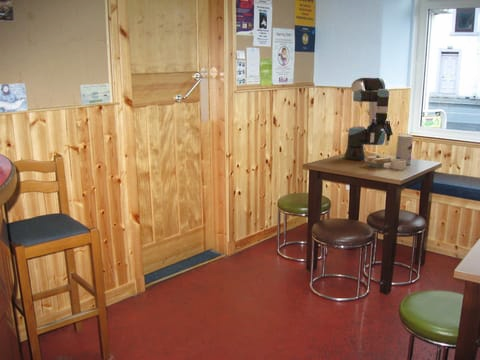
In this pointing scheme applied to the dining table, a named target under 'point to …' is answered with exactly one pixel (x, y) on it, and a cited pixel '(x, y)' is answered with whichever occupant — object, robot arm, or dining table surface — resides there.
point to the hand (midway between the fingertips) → (379, 143)
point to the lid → (377, 159)
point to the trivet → (377, 165)
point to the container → (404, 148)
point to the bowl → (398, 164)
